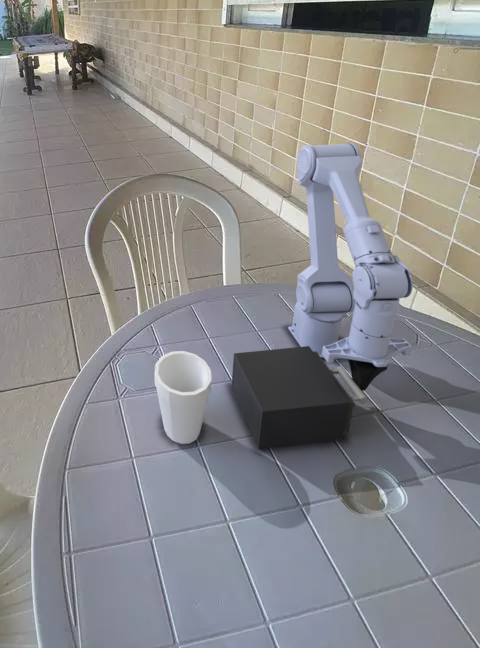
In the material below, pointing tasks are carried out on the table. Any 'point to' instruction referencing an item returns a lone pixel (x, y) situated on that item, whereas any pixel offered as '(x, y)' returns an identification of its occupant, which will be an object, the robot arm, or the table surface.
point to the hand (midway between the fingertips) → (358, 386)
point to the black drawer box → (288, 397)
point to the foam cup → (182, 394)
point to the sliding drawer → (350, 383)
